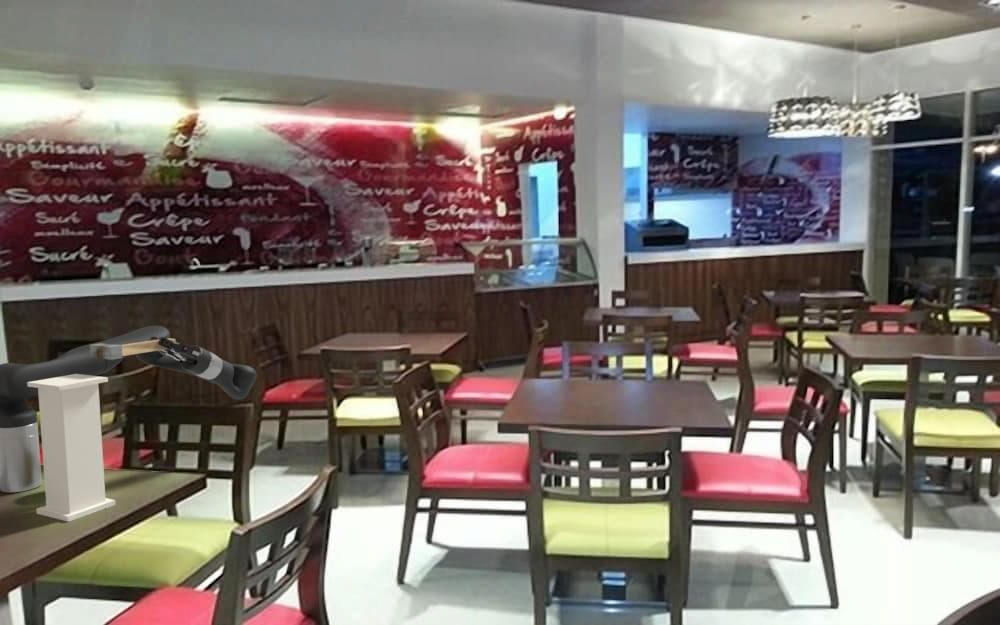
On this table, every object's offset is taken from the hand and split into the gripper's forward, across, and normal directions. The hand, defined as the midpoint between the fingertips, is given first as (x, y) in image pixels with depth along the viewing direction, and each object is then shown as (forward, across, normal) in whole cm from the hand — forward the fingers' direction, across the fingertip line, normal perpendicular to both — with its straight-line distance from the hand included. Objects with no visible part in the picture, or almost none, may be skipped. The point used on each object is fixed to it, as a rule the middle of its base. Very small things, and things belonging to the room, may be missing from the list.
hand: (155, 339), depth 195 cm
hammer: (+4, 0, +5) cm, 6 cm away
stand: (+2, 0, +46) cm, 46 cm away
